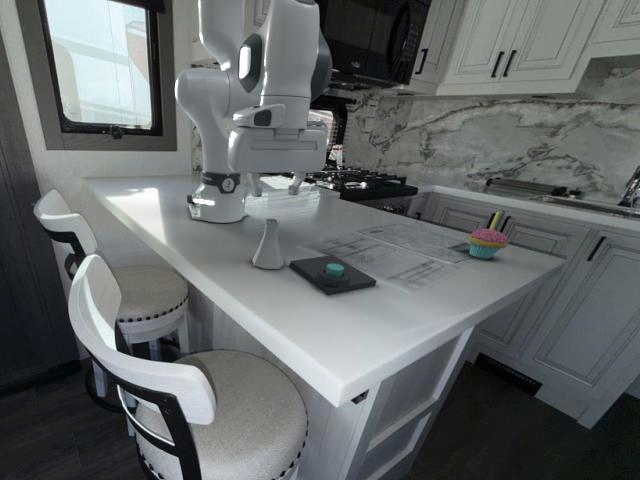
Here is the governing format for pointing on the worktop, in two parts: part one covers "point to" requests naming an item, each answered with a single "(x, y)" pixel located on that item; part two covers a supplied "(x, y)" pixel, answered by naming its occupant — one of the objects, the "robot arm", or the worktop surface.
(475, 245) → the cupcake
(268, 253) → the flask
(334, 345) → the worktop surface
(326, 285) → the black flat block
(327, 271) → the button
